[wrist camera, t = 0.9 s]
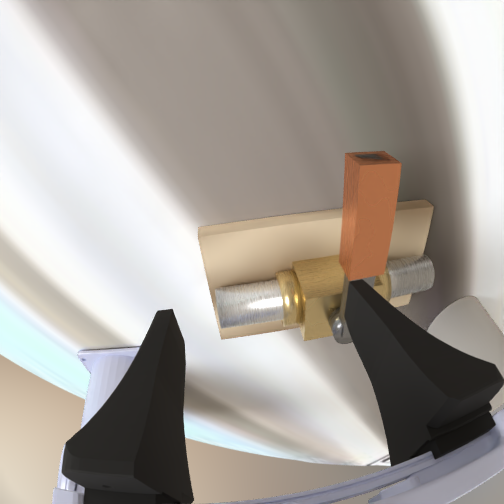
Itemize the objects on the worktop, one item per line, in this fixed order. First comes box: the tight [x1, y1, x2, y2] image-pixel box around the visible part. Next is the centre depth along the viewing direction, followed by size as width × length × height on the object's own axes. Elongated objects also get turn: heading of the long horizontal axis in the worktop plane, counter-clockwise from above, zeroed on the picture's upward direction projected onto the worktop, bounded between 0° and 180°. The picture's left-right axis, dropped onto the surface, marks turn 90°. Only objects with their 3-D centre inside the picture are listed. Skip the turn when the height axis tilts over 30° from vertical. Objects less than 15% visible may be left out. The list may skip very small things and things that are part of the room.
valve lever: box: [328, 151, 402, 344], centre depth 16 cm, size 12×2×2 cm, turn 5°
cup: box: [427, 296, 504, 413], centre depth 27 cm, size 8×8×12 cm
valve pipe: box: [215, 254, 435, 341], centre depth 22 cm, size 4×16×4 cm, turn 95°
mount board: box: [198, 199, 434, 339], centre depth 24 cm, size 10×17×1 cm, turn 95°
